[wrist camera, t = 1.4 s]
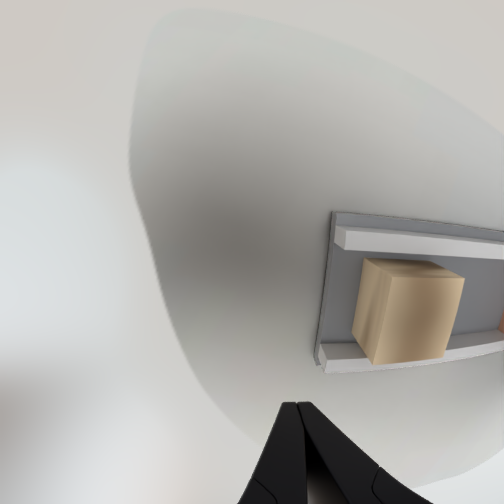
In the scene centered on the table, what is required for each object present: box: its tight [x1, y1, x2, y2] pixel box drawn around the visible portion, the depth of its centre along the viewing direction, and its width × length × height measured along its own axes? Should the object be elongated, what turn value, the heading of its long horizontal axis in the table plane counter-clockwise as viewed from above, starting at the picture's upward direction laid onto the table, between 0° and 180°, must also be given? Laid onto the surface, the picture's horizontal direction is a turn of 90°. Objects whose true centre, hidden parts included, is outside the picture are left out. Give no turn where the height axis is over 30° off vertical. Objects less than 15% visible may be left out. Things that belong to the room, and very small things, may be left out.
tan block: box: [351, 257, 465, 365], centre depth 16 cm, size 5×5×4 cm
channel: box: [314, 211, 504, 373], centre depth 17 cm, size 19×10×5 cm, turn 87°
